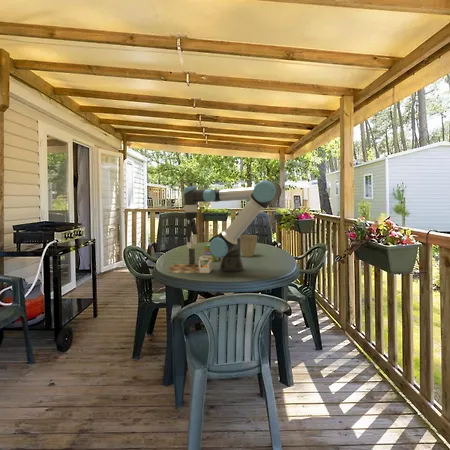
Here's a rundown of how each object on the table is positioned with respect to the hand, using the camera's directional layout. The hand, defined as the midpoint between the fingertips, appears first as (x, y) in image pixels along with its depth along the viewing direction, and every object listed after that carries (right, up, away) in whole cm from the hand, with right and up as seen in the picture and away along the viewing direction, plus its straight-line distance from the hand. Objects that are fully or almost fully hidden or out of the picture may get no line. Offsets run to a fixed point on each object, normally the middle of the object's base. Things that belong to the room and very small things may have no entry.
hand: (192, 246), depth 220 cm
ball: (+9, -14, 0) cm, 16 cm away
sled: (0, -14, +1) cm, 14 cm away
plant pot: (+38, -11, +56) cm, 69 cm away
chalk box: (+11, -13, +39) cm, 43 cm away
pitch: (-4, -16, +2) cm, 16 cm away
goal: (+8, -16, 0) cm, 18 cm away
